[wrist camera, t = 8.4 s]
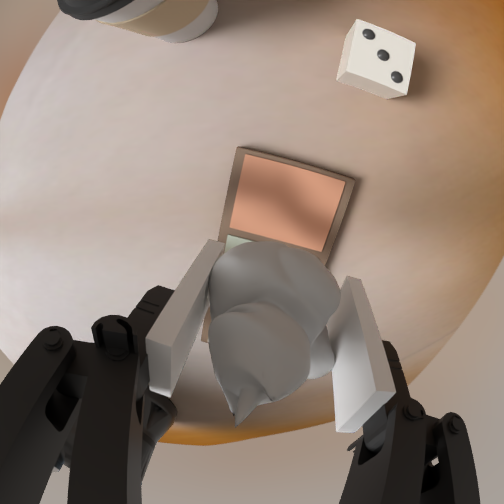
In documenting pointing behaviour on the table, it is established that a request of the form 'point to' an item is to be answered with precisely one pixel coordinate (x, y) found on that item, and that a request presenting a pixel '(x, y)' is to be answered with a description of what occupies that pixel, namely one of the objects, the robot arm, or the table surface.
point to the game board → (282, 205)
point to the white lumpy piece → (269, 322)
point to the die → (376, 60)
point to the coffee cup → (148, 16)
